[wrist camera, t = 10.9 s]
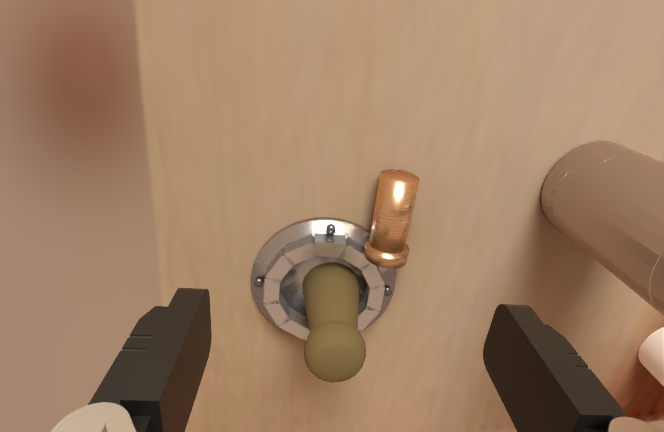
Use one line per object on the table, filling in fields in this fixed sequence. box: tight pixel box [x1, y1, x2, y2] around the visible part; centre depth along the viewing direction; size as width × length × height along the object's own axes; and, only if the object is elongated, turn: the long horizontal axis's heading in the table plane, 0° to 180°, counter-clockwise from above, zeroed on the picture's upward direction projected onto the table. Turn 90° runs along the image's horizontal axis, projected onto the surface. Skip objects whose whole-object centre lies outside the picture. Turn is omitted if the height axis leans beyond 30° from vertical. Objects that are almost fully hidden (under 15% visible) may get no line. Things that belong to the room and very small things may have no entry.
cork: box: [302, 262, 366, 382], centre depth 37 cm, size 6×6×11 cm
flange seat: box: [251, 218, 395, 340], centre depth 42 cm, size 15×15×2 cm
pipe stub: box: [364, 170, 419, 269], centre depth 37 cm, size 8×4×4 cm, turn 175°
